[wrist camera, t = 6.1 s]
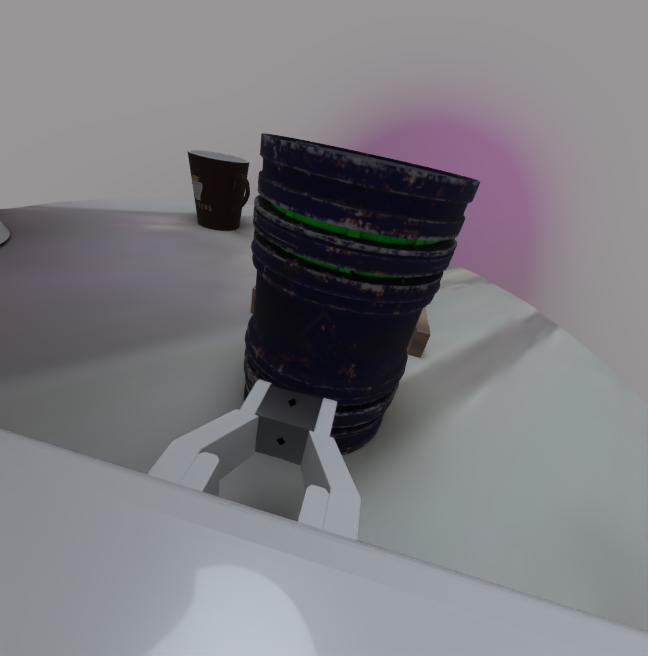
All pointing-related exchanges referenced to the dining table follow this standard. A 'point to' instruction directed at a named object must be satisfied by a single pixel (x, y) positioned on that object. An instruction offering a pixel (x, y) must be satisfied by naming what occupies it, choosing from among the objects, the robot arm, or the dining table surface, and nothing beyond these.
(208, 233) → the dining table surface
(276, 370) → the dark blue cylinder
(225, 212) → the coffee mug
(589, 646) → the robot arm
